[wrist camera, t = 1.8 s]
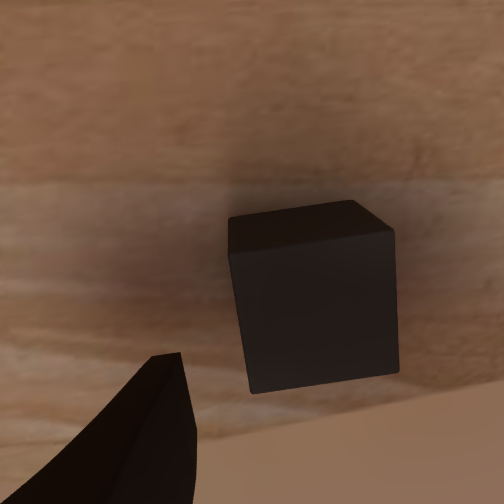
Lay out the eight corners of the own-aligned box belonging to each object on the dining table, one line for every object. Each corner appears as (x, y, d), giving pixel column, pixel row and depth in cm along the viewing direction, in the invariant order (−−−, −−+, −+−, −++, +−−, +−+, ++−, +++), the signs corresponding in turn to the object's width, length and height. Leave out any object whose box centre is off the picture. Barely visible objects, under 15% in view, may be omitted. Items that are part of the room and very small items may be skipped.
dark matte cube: (361, 312, 16) (400, 373, 13) (245, 329, 16) (250, 395, 13) (354, 198, 15) (395, 229, 11) (227, 217, 15) (227, 253, 11)
